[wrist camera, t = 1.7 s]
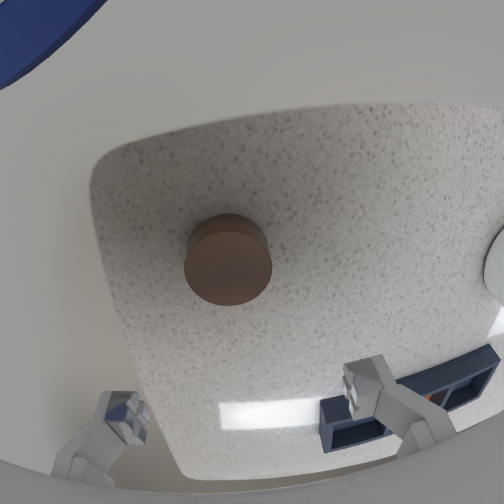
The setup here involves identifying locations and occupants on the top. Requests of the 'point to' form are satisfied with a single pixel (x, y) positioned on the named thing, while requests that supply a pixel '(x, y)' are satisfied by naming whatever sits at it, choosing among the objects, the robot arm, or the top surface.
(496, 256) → the mug
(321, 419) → the grid
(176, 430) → the top surface
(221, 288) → the cylinder
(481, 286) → the top surface
